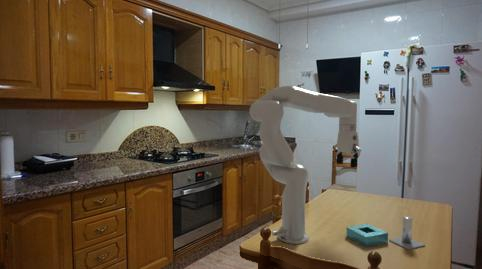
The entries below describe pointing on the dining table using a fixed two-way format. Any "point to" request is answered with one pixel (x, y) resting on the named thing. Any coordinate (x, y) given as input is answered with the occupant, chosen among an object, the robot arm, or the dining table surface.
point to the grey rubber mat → (407, 246)
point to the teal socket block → (367, 235)
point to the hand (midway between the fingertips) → (346, 165)
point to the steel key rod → (407, 229)
